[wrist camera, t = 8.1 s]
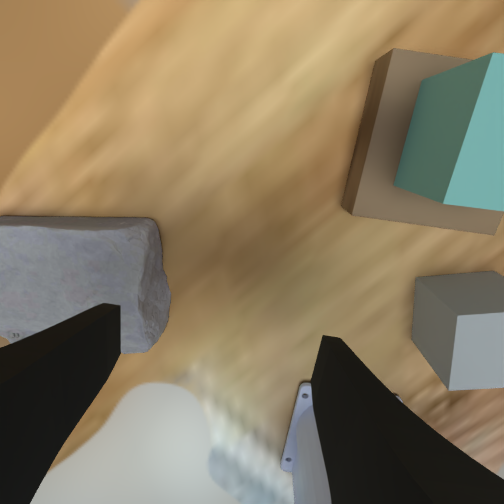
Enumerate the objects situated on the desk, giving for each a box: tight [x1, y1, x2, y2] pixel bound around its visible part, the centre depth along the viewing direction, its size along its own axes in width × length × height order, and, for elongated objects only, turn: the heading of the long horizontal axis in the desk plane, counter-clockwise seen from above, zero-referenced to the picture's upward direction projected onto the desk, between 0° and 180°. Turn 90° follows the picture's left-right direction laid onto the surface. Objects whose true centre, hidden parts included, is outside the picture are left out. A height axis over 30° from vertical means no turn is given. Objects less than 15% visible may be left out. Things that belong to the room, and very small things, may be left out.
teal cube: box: [393, 53, 504, 211], centre depth 13 cm, size 5×5×5 cm
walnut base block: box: [341, 48, 504, 235], centre depth 17 cm, size 8×8×3 cm
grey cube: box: [411, 271, 504, 391], centre depth 19 cm, size 5×5×5 cm
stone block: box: [0, 216, 171, 354], centre depth 21 cm, size 12×5×10 cm
